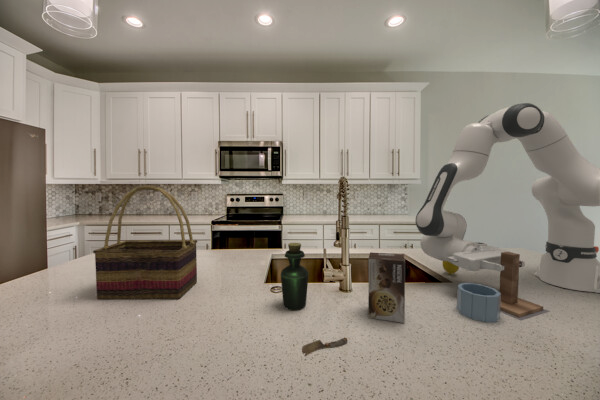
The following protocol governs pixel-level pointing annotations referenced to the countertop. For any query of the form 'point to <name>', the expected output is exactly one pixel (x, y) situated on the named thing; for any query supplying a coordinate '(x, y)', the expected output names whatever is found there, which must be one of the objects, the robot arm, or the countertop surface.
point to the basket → (146, 262)
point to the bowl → (478, 302)
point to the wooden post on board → (513, 288)
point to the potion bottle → (294, 279)
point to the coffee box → (386, 287)
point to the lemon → (450, 267)
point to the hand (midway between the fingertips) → (513, 266)
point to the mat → (527, 315)
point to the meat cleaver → (321, 346)
